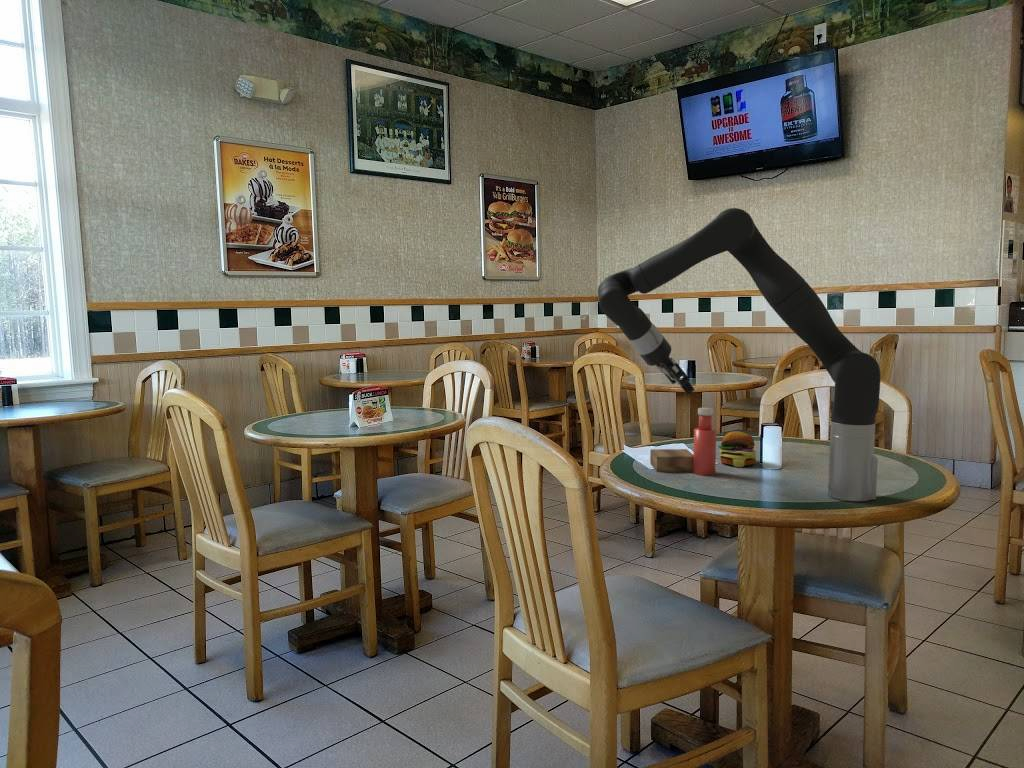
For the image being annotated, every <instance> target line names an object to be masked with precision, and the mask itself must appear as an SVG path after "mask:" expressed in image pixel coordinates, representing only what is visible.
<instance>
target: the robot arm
mask: <svg viewBox="0 0 1024 768" xmlns="http://www.w3.org/2000/svg"><path fill="white" fill-rule="evenodd" d="M725 252H729V254H730V255H731V256H732V257H734V259H735V260H736V261H737V262H738V263H740V265H742V267H743V268H744V269H745V270H746V271H747V273H748V274H749V276H750V277H751V279H752V281H753V282H754V284H755V286H756V287H757V289H758V290H759V292H760V293H761V295H762V296H763V298H764V299H765V300H766V302H767V303H768V304H769V306H770V307H771V308H772V310H774V312H775V313H776V314H777V316H779V318H780V319H781V321H783V323H785V324H786V325H787V326H788V327H789V328H790V329H791V331H792V332H793V333H794V334H795V335H796V336H797V337H799V339H801V340H802V341H803V342H804V343H805V344H806V345H807V346H808V347H809V348H810V349H811V350H812V352H813V353H814V354H815V355H816V357H817V358H818V359H819V361H820V362H821V364H822V365H823V367H824V368H825V371H826V372H827V373H828V374H829V376H830V377H831V380H832V381H833V382H834V393H833V394H834V396H833V397H834V398H833V406H832V408H831V411H830V429H829V430H830V432H829V433H830V434H829V436H830V437H829V453H828V454H829V455H828V456H829V457H828V460H829V461H828V483H827V495H828V496H829V497H831V498H833V499H837V500H842V501H847V502H867V501H871V500H876V499H877V484H878V483H877V481H878V480H877V479H878V465H879V464H878V461H879V460H878V457H877V456H875V440H876V439H875V436H876V435H875V434H876V422H877V421H876V419H877V418H876V417H877V413H878V411H879V404H880V392H881V391H880V390H881V367H880V365H879V363H878V361H877V360H876V359H875V357H873V356H872V355H870V354H869V353H865V352H864V351H861V350H860V349H858V347H856V345H854V343H852V342H851V341H850V340H849V339H848V338H847V336H845V335H844V334H843V332H842V331H840V329H839V328H838V327H837V325H836V323H835V322H834V320H833V318H832V317H831V314H830V312H829V310H828V309H827V308H826V306H825V303H823V301H822V300H821V298H820V296H819V295H818V294H817V292H816V291H815V290H814V289H813V288H812V287H811V286H810V284H809V283H808V282H807V281H806V280H805V278H804V277H803V276H802V275H800V273H799V272H798V271H797V270H796V269H795V268H794V267H792V266H791V265H790V264H789V263H788V262H787V261H786V260H784V258H782V257H781V256H780V255H778V253H777V252H776V251H775V250H774V249H773V248H772V247H771V246H770V244H769V243H768V242H767V241H766V238H764V236H763V235H762V233H761V231H760V229H758V227H757V225H756V224H755V222H754V219H753V218H752V216H751V215H750V214H749V213H748V212H747V211H745V210H743V209H742V208H737V207H731V208H727V209H724V210H723V211H721V212H720V213H719V214H717V216H716V217H715V218H714V219H713V220H711V221H710V222H708V224H706V225H705V226H704V227H703V228H701V229H699V230H698V231H697V232H696V233H694V234H692V235H690V236H689V237H688V238H686V239H684V240H682V241H681V242H678V243H676V244H675V245H672V246H671V247H669V248H667V249H665V250H663V251H660V252H659V253H657V254H655V255H653V256H652V257H649V258H648V259H646V260H644V261H641V263H639V264H636V265H635V266H634V267H631V268H628V269H624V270H621V271H619V272H615V273H613V274H610V275H608V276H607V277H606V278H604V279H603V280H602V281H601V282H600V283H599V285H598V289H597V296H598V305H599V307H600V310H601V312H603V314H604V316H605V317H607V318H608V320H610V321H611V322H613V323H614V324H615V325H616V326H617V327H619V329H620V330H621V332H622V333H623V334H624V335H625V337H626V338H627V339H628V341H629V342H630V344H631V346H632V347H633V348H634V350H635V351H636V352H637V353H638V355H639V357H641V359H642V360H643V361H644V363H645V364H646V365H647V366H651V367H653V366H655V367H656V368H657V370H658V371H660V372H661V373H662V374H664V376H665V377H666V378H667V379H668V381H669V382H670V383H671V384H672V385H673V384H676V383H677V384H678V385H679V386H680V387H681V389H682V390H683V391H684V392H685V394H686V395H691V393H693V392H694V390H695V388H694V387H693V385H692V384H691V383H690V380H691V379H690V377H689V376H688V375H687V374H686V372H684V370H683V368H681V366H680V365H679V364H678V363H677V362H676V360H675V359H674V358H673V357H670V355H671V353H672V346H671V344H670V343H669V342H668V340H667V339H666V338H665V336H664V335H663V334H662V333H661V332H662V331H660V330H659V329H658V327H657V326H656V325H655V324H653V323H652V321H651V320H650V318H649V317H648V316H647V314H646V313H645V312H644V310H643V309H641V308H640V307H638V306H636V305H634V304H633V302H632V301H631V299H630V298H629V295H632V294H635V293H638V292H639V293H640V294H642V295H643V294H648V293H651V292H652V291H654V290H656V289H658V288H660V287H661V286H663V285H666V284H667V283H670V282H671V281H672V280H674V279H676V278H677V277H679V276H680V275H682V274H684V273H685V272H687V271H688V270H689V269H691V268H692V267H695V266H696V265H698V264H700V263H701V262H703V261H706V260H707V259H710V258H712V257H714V256H717V255H719V254H722V253H725Z"/></svg>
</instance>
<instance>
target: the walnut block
mask: <svg viewBox="0 0 1024 768" xmlns="http://www.w3.org/2000/svg"><path fill="white" fill-rule="evenodd" d="M649 451H650V456H649V457H650V459H649V461H650V464H649V465H651V467H653V469H654V470H655V472H660V473H661V472H663V473H664V472H667V473H668V472H669V473H670V472H672V473H674V472H677V473H678V472H693V461H694V453H691V452H690V451H689V450H688V449H686V448H684V449H683V448H674V449H671V448H668V449H658V448H657V449H655V448H654V449H650V450H649Z"/></svg>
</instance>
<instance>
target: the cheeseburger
mask: <svg viewBox="0 0 1024 768" xmlns="http://www.w3.org/2000/svg"><path fill="white" fill-rule="evenodd" d="M755 445H756V444H755V441H754V438H753V436H752V435H750V434H748V433H745V432H742V431H738V430H737V431H735V430H734V431H729V432H727V433H726V434H725V436H724V437H723V438H722V441H721V443H720V445H719V446H718V448H719V450H718V452H719V458H720V462H721V463H722V464H727V465H731V466H733V467H735V468H743V467H745V466H750V465H754V464H756V460H757V459H756V458H757V455H756V454H757V451H756V449H755Z"/></svg>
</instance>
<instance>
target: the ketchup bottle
mask: <svg viewBox="0 0 1024 768" xmlns="http://www.w3.org/2000/svg"><path fill="white" fill-rule="evenodd" d="M697 415H698V427H697V428H693V455H694V461H693V471H692V472H693V474H694V475H698V476H714V475H716V468H717V467H716V465H717V459H716V457H717V429H715V428H713V425H712V423H713V422H712V421H713V418H712V417H713V415H714V408H711V407H698V408H697Z"/></svg>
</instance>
